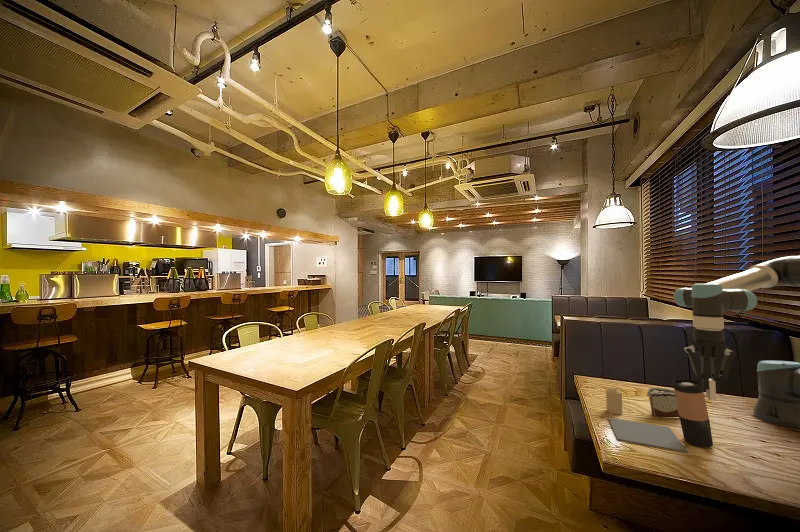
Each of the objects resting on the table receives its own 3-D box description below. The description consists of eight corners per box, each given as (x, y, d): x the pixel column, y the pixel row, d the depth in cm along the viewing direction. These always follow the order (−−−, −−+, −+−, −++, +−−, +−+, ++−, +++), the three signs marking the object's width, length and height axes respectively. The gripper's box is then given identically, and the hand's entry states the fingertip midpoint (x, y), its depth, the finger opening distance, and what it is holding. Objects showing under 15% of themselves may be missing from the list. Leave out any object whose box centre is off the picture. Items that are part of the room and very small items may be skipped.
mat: (668, 428, 116) (668, 427, 116) (688, 453, 99) (688, 451, 99) (608, 419, 124) (608, 417, 124) (617, 440, 108) (617, 438, 108)
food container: (671, 411, 130) (670, 387, 130) (683, 418, 124) (682, 393, 124) (640, 410, 131) (639, 387, 132) (650, 417, 125) (649, 392, 125)
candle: (620, 410, 132) (620, 386, 132) (624, 415, 127) (623, 391, 127) (605, 408, 134) (604, 385, 134) (608, 413, 129) (607, 389, 129)
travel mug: (705, 437, 107) (694, 379, 109) (720, 448, 100) (707, 386, 102) (678, 436, 110) (668, 379, 112) (690, 447, 103) (679, 386, 104)
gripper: (728, 328, 106) (731, 398, 105) (679, 326, 111) (681, 392, 110) (740, 331, 99) (744, 406, 98) (687, 329, 104) (690, 399, 103)
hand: (711, 399), depth 104 cm, fingers closed
